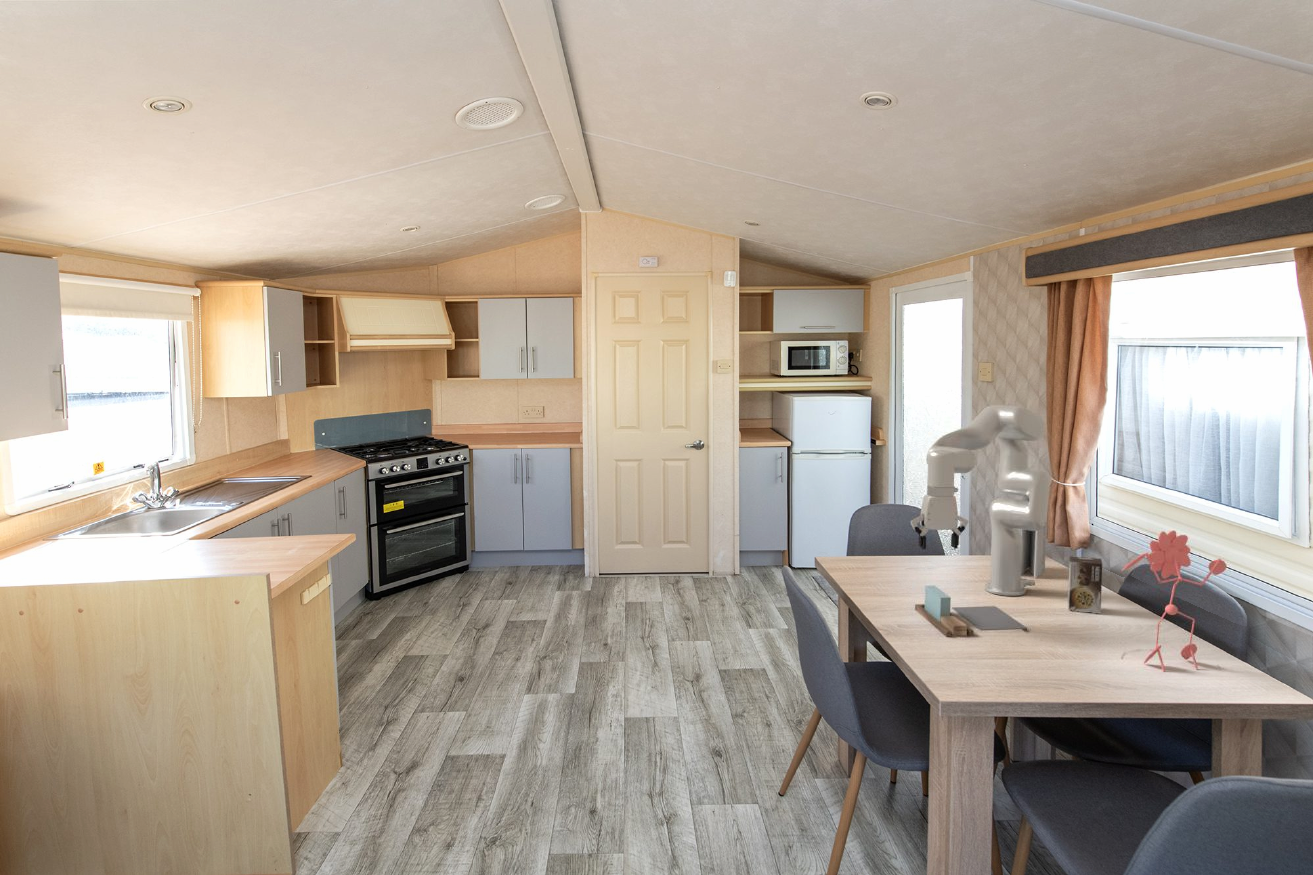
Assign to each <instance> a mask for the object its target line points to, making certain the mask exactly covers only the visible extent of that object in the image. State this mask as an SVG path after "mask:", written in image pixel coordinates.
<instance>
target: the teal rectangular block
mask: <svg viewBox="0 0 1313 875" xmlns="http://www.w3.org/2000/svg"><path fill="white" fill-rule="evenodd" d="M951 602H952V601H951V596H949V595H948V594H947V593H945V592H944V591H943V590H942V589H940V588H939V587H937V586H936V585H925V586H924V604H925V610H926V611H927V612H929V613H930V614H931V615H932V616H933V617H935V618H936V619H937V620H938V621H939V622H940V620H941V617H943V616H950V612H951ZM940 623H941V622H940Z"/></svg>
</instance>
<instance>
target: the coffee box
mask: <svg viewBox="0 0 1313 875" xmlns="http://www.w3.org/2000/svg"><path fill="white" fill-rule="evenodd" d="M1068 563H1069V565H1068V566H1069V568H1068V570H1069V571H1068V593H1067V610H1072V611H1071V612H1075V611H1079V612H1078V613H1085V612H1092V613H1091V614H1095V613H1098V614H1097V615H1101V613H1102V588H1103V587H1102V586H1103V584H1102V583H1103V567H1104V566H1103V561H1102V558H1095V557H1083V556H1069V562H1068Z"/></svg>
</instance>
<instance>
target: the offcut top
mask: <svg viewBox="0 0 1313 875" xmlns="http://www.w3.org/2000/svg"><path fill="white" fill-rule="evenodd" d="M956 617H957V616H956ZM956 617H954V616H943V617H941V620H940V622H942V623H943V624H944V625H946V626H947V627H948V628H949V629H951V630H952V631H967V626H968V624H966V623H965V622H964V621H962V620H961V619H960V620H961V621H962V622H961V621H960V620H959V618H958V617H957V618H958V619H957V618H956ZM964 623H965V624H966V625H965V624H964Z"/></svg>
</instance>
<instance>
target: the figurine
mask: <svg viewBox="0 0 1313 875" xmlns="http://www.w3.org/2000/svg"><path fill="white" fill-rule="evenodd" d="M1188 540H1189V536H1188V535H1186V534H1180V535H1178V536H1177V531H1176V530H1170V531H1169V532H1168V533H1166V532H1165V531H1161V532H1160V533H1159V534H1158V539H1157V540H1150V542H1149V548H1150V550H1151V552H1149V553H1148V552H1147V551H1146V552H1144V553H1143V554H1141V555H1139V556H1137V557H1135V558H1134V559H1133V560H1131V561H1130V562H1129V563H1128V564H1126V566H1124V567H1123V568H1122V569H1121V572H1125V571H1126V570H1127V569H1128V570H1129V569H1130V568H1132V567H1133V566H1134V565H1136V564H1137V563H1139V562H1140V561H1142V560H1143V558H1145V557H1146V559H1147V561H1148V563H1149V565H1150V571H1151V572H1153V573H1154V575H1155V577H1156V579H1157V582H1158V584H1165V583H1170V582H1174V581H1175V582H1174V583H1173V585H1172V586H1173V587H1172V590H1171V596H1170V601H1169V604H1167V605H1166V606H1165V608H1164V610H1165V611H1164V612H1163V614H1162V616H1161V618H1160V619H1159V621H1158V622H1157V627H1156V642H1155V643H1156V644H1155V647H1154V649H1153V650H1151V652H1150V654H1148V655H1147V657H1146V658H1145V660H1144V662H1143V664H1146V663H1147V662H1148V661H1149V660H1151V658H1153V657H1154V656H1155V655H1156V654H1157V655H1158V657H1159V661H1160V665H1161V666H1160V667H1161V669H1162V672H1166V668H1165V664H1164V660H1163V658H1162V655H1161V651H1160V650H1161V648H1162V645H1161V644H1158V643H1159V633H1160V624H1161V622H1162V620H1163V619H1164V617H1165V616H1166V614H1167V615H1170V616H1173V615H1174V616H1175V615H1176V614H1179V615H1181V616H1183V617H1185V618H1187V619H1189V620H1192V623H1191V624H1192V625H1191V631H1190V638H1189V643H1188V644H1186V645H1184V647H1182V649H1181V650H1180V657H1182V658H1183V659H1184V660H1186V661H1187V660H1189V659H1190V658H1192V661H1193V665H1194V668H1195V669H1196V668H1198V664H1197V660H1196V658H1195V654H1196V653H1197V651H1198V647H1197V645H1196V644H1194V643H1192V639H1193V636H1194V634H1193V633H1194V629H1195V621H1196V619H1195V618H1193V617H1191V616H1188V615H1187V614H1186V613H1185V614H1184V613H1182V612H1180V611H1179V609H1178V607H1177V606H1176V605H1174V604H1173V599H1174V596H1175V592H1176V591H1175V590H1176V587H1177V585H1178V584H1179V582H1183V581H1184V582H1187V583H1190V584H1194V585H1198V586H1203V585H1205V583H1206V582H1207V580H1208V579H1209V578H1210V577H1211V575H1212V574H1213V575H1214V576H1218V575H1220V574H1222V573H1224V572H1225V570H1226V569H1227V563H1226V562H1225V560H1222V559H1221V558H1217V559H1214V560H1211V561H1210V563H1209V564H1208V566H1207V567H1208V570H1209V572H1208V573H1207V575H1206V576H1205V578H1204V579H1203V581H1202V582H1198V581H1194V580H1190V579H1186V578H1183V577H1182V575H1181V567H1183V568H1184V567H1185V568H1188V567H1190V566H1191V564H1192V563H1191V562H1192V561H1191V558H1190V556H1189V554H1190V553H1191V548H1190V547H1189V546H1188V545H1187V542H1188ZM1157 572H1160V575H1161V577H1162V578H1163V579H1164V580H1161V579H1160V576H1159V574H1158V573H1157ZM1170 576H1174V577H1175V578H1170ZM1177 576H1178V577H1177ZM1168 578H1170V579H1168ZM1123 656H1124V655H1121V659H1122V658H1123ZM1216 666H1217V667H1218V668H1220V666H1219V665H1218V664H1217V665H1216ZM1198 669H1199V668H1198Z"/></svg>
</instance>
